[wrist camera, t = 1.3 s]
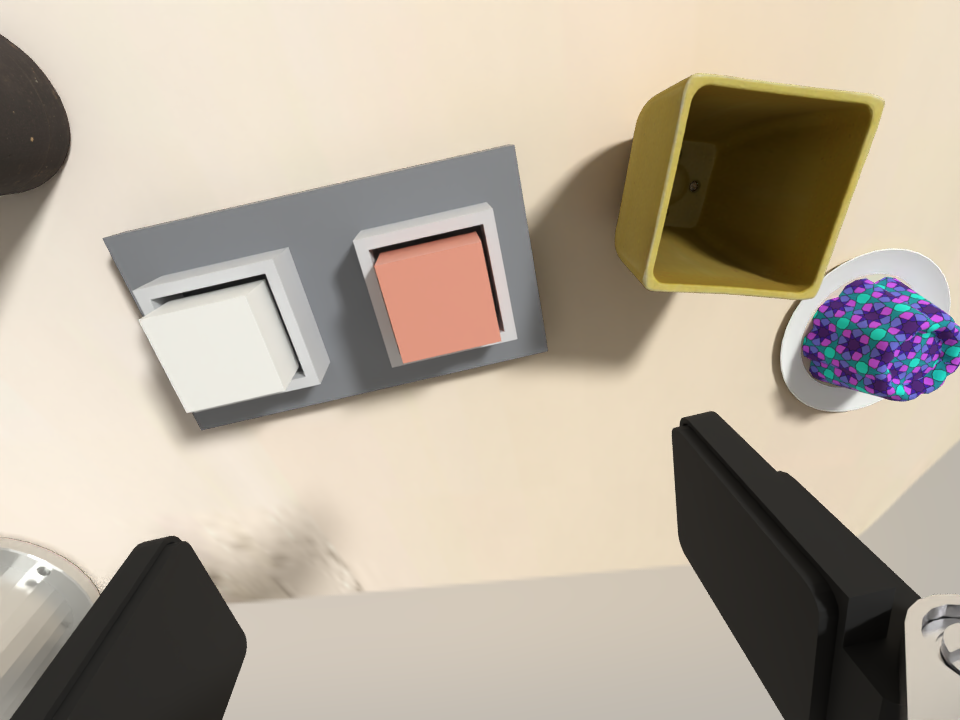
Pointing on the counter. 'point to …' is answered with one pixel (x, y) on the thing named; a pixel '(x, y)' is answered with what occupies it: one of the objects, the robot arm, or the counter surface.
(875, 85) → the counter surface
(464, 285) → the brick key
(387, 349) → the push button panel
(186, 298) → the white key
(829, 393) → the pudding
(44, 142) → the container
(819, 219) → the flower pot
